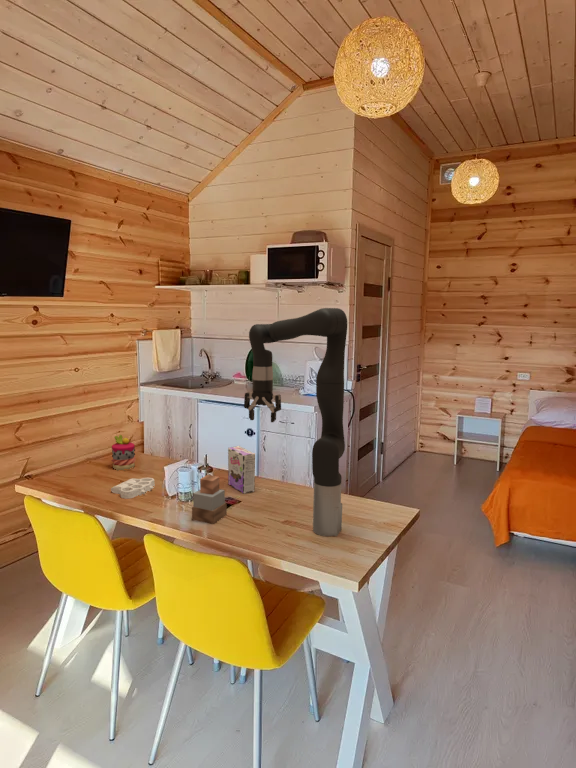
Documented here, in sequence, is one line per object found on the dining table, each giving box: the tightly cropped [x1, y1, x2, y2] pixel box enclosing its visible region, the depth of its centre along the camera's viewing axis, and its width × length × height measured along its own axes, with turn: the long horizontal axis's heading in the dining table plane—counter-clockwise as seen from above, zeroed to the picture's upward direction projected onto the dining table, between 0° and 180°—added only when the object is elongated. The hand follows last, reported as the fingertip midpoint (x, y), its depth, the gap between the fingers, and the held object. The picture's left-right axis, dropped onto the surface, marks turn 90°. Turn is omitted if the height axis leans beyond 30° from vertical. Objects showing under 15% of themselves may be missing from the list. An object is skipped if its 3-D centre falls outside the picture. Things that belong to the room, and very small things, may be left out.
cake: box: [110, 434, 137, 471], centre depth 240 cm, size 10×10×15 cm
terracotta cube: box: [199, 474, 220, 495], centre depth 183 cm, size 5×5×5 cm
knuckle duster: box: [110, 477, 156, 499], centre depth 210 cm, size 3×18×15 cm
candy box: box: [227, 445, 256, 494], centre depth 215 cm, size 14×6×16 cm, turn 33°
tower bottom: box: [191, 502, 228, 525], centre depth 184 cm, size 9×9×5 cm
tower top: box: [192, 488, 226, 511], centre depth 184 cm, size 8×8×5 cm
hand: (262, 420), depth 192 cm, fingers open, 8 cm apart
